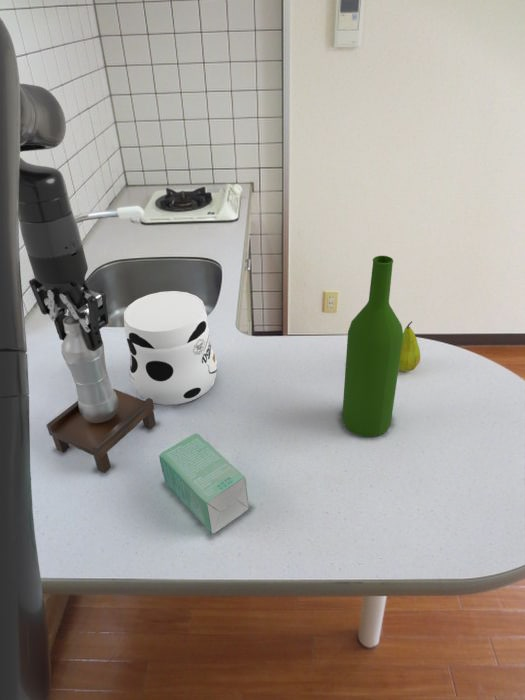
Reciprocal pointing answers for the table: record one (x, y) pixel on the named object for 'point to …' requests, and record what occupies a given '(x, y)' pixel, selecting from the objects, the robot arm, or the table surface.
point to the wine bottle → (373, 358)
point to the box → (205, 482)
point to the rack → (100, 428)
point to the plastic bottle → (88, 374)
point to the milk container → (170, 348)
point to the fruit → (409, 351)
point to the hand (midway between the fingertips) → (81, 342)
